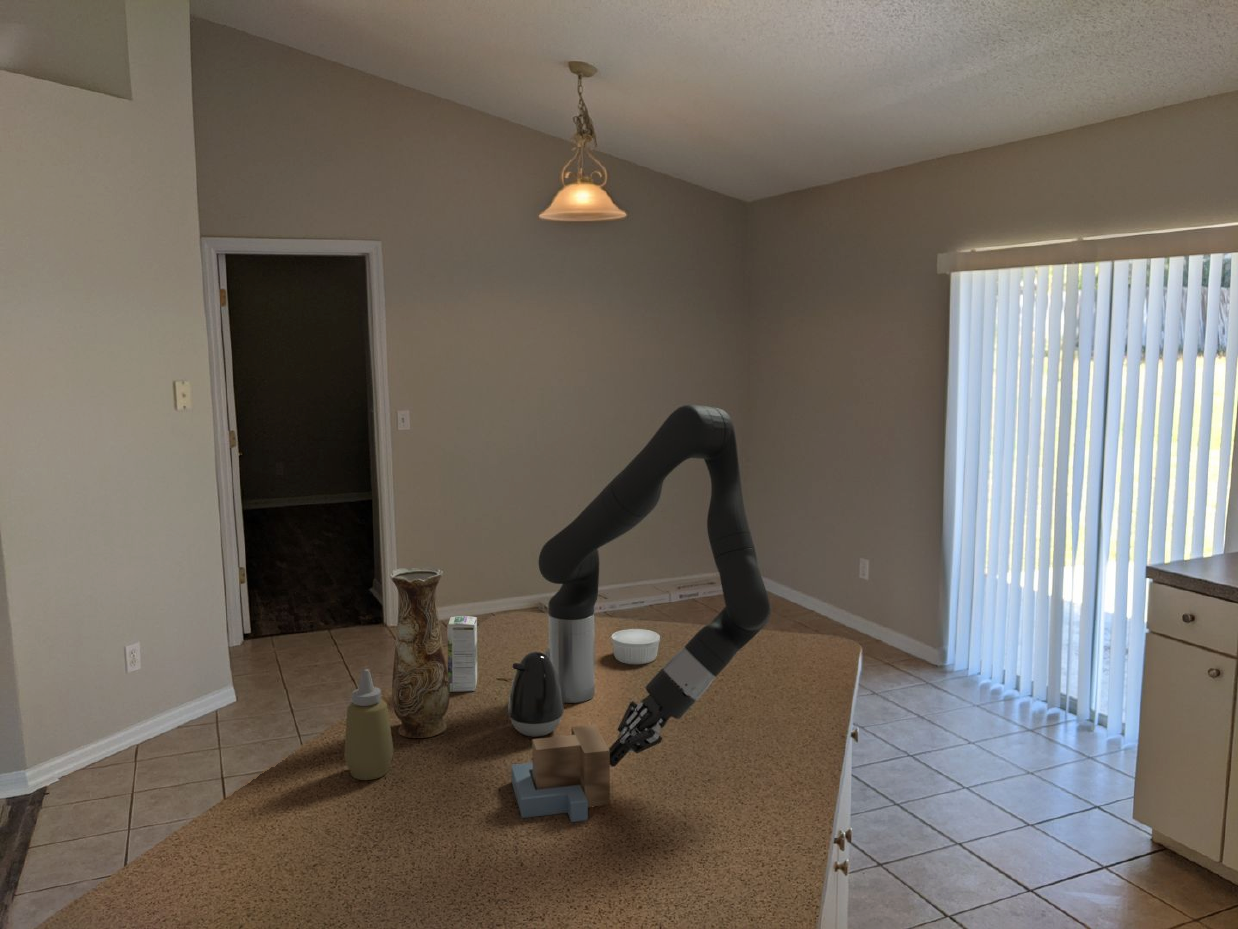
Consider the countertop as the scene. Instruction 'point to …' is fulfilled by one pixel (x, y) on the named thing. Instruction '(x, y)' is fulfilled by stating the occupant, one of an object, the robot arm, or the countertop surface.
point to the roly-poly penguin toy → (535, 696)
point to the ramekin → (635, 646)
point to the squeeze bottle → (368, 732)
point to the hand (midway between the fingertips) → (607, 762)
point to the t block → (574, 763)
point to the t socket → (546, 796)
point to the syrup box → (462, 653)
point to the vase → (419, 655)
